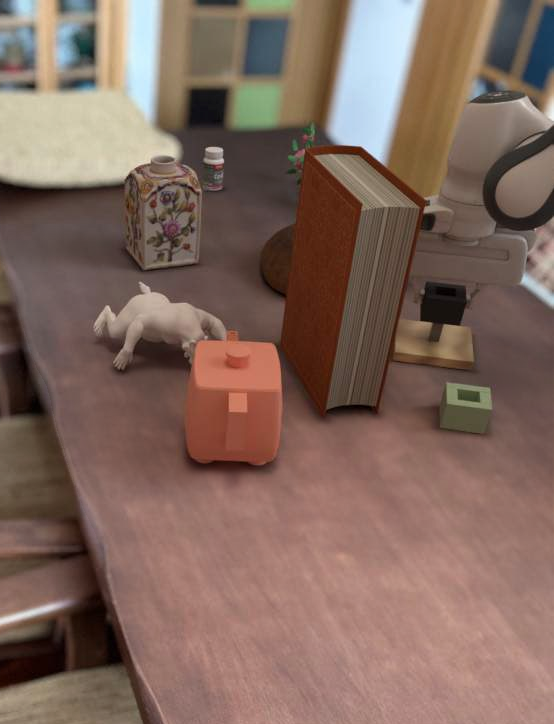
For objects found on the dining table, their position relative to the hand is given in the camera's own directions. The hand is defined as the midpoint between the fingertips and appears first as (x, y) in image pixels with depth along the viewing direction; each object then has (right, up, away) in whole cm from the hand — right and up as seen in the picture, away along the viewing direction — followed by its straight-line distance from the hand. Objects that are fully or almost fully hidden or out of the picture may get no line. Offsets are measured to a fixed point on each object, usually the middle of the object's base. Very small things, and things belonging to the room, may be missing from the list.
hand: (442, 304), depth 128 cm
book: (-19, -12, -2) cm, 23 cm away
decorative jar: (-43, +18, +32) cm, 57 cm away
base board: (0, -6, +5) cm, 7 cm away
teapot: (-35, -23, -16) cm, 45 cm away
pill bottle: (-31, +45, +62) cm, 83 cm away
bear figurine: (-44, -6, +4) cm, 44 cm away
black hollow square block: (0, -1, +1) cm, 2 cm away
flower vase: (-8, +38, +55) cm, 67 cm away
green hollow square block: (-1, -20, -11) cm, 23 cm away
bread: (-11, +13, +26) cm, 31 cm away
